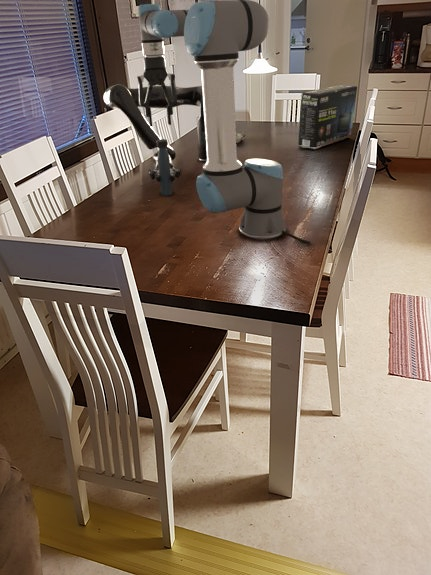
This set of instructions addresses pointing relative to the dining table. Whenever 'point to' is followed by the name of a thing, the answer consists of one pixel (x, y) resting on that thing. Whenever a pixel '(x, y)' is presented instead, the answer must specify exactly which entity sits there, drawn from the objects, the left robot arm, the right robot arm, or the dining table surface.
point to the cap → (162, 143)
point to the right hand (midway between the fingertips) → (160, 124)
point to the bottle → (164, 172)
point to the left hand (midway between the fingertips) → (165, 179)
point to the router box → (326, 115)
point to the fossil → (239, 136)
